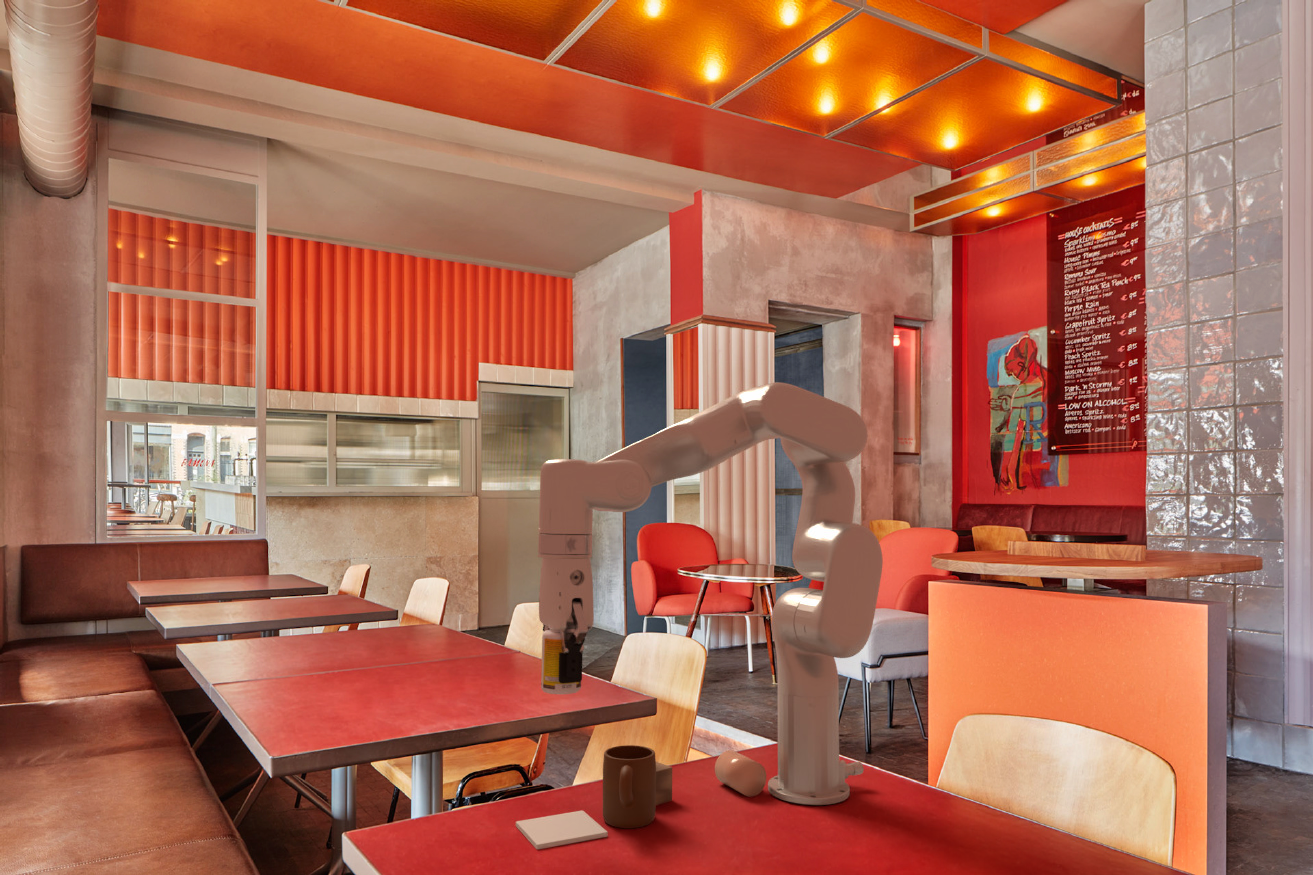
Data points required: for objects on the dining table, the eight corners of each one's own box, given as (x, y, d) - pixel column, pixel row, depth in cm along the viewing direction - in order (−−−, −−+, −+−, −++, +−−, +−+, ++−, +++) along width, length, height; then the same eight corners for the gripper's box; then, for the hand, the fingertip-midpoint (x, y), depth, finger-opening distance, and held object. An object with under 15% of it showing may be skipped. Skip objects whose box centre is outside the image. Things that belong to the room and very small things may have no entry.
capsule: (709, 776, 135) (734, 787, 137) (733, 790, 129) (758, 801, 131) (722, 745, 137) (746, 756, 139) (746, 756, 131) (771, 768, 132)
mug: (653, 843, 112) (653, 770, 113) (596, 841, 112) (597, 769, 113) (656, 810, 124) (657, 744, 125) (605, 809, 124) (605, 743, 125)
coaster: (582, 814, 122) (582, 810, 122) (607, 836, 114) (607, 831, 114) (515, 825, 118) (515, 821, 118) (536, 849, 110) (537, 844, 110)
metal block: (650, 792, 132) (650, 759, 133) (672, 800, 128) (672, 767, 129) (625, 799, 129) (626, 765, 129) (647, 808, 125) (647, 773, 125)
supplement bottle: (585, 694, 116) (587, 618, 116) (545, 696, 114) (547, 619, 115) (575, 686, 121) (577, 613, 122) (537, 688, 119) (539, 614, 120)
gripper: (614, 549, 113) (611, 687, 111) (568, 544, 128) (565, 665, 127) (561, 550, 110) (558, 692, 108) (520, 544, 125) (516, 669, 123)
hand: (561, 676), depth 117 cm, fingers closed on supplement bottle, 5 cm apart
